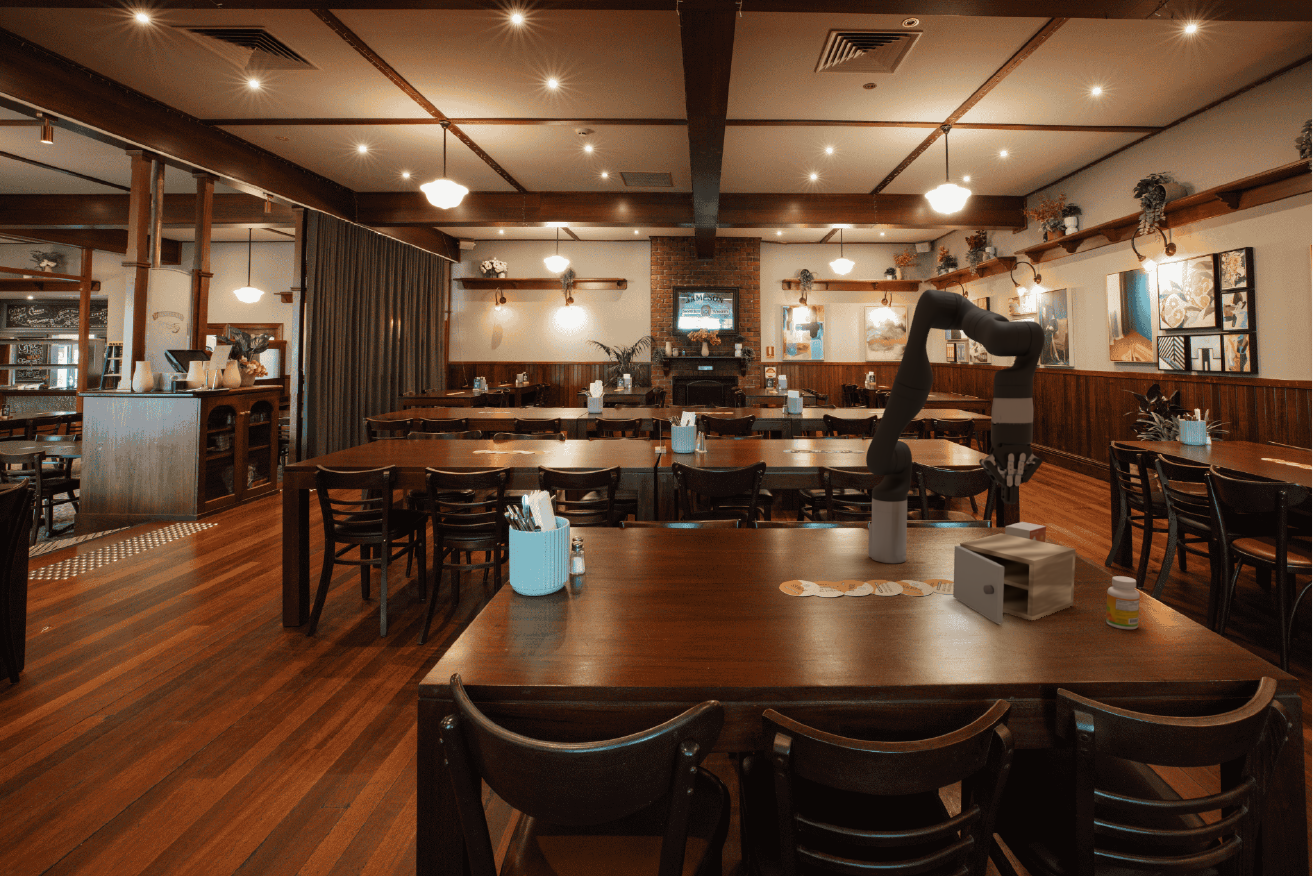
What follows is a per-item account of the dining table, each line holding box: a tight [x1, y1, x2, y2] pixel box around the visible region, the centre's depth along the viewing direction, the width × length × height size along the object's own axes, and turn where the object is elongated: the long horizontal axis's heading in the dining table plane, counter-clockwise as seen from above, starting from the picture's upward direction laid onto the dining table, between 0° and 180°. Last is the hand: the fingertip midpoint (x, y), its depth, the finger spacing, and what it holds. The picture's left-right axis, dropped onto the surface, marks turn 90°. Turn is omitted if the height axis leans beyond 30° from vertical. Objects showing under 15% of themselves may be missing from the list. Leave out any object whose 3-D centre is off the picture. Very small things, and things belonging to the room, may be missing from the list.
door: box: [952, 545, 1004, 625], centre depth 143 cm, size 16×2×12 cm, turn 6°
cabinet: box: [959, 532, 1077, 621], centre depth 148 cm, size 17×16×13 cm
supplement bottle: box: [1105, 575, 1141, 630], centre depth 134 cm, size 5×5×10 cm
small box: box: [1004, 521, 1047, 543], centre depth 166 cm, size 8×6×13 cm
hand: (1009, 503), depth 136 cm, fingers closed
